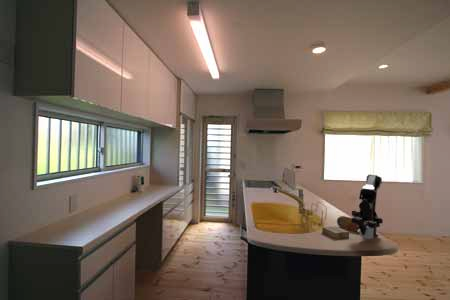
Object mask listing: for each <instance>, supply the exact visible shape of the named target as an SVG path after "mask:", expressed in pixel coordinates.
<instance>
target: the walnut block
mask: <svg viewBox="0 0 450 300" xmlns="http://www.w3.org/2000/svg"><path fill="white" fill-rule="evenodd" d="M321 231H322V232H321V233H322V234H323V235H326V236H327V237H330V238H332V239H334V240H338V239H339V240H340V239H349V238H350V231H349V230H347V229H343V228H341V227H339V226H337V225H335V226H324V227H323V226H322V230H321Z"/></svg>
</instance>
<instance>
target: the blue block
mask: <svg viewBox="0 0 450 300" xmlns="http://www.w3.org/2000/svg"><path fill="white" fill-rule="evenodd" d="M373 232H374V228H372V227H369V226H367V227H366V231H365V234H364V235H362V233H361V230H360V229H359V236H360V237H361V238H364V239H367V240H368V239H374V236H373Z"/></svg>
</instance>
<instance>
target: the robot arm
mask: <svg viewBox="0 0 450 300" xmlns="http://www.w3.org/2000/svg"><path fill="white" fill-rule="evenodd" d="M382 180H383V178H382V177H381V176H378V174H371V173H370V174H368V175H367V176H366V181H365V182H366V184H365V185H363V186H362V188H361V189H360V192H359V200H361V202H360V203H359V204H358V208H359V211H357V210H352V211H351V216H352V217H351V218H352V219H351V222H352V223H355V224H358V225H359V227H360V229H359V231H360V230H361V233H362V235H364V234H365V231H366V227H367V226H369V227H372V228H374V232H373V237H378V236H379V234H377V228H380V227H381V224H383V221H384V220H383V219H382V217H379V216H378V214H377V212H376V207H377V197H378V196H377V195H378V190H379V189H380V188H381V184H383V183H382V182H383V181H382Z"/></svg>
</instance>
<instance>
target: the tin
mask: <svg viewBox="0 0 450 300" xmlns="http://www.w3.org/2000/svg"><path fill="white" fill-rule="evenodd" d="M352 218H353V217H349V216H345V215H343V216H339V217H337V219H336V223H337V225H338V226H337V227H339V228H341V229H344V230H347V231H351V232H352V231H353V232H357V231H360V227H359V225H358V224H355V223H352V222H351V219H352Z"/></svg>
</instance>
